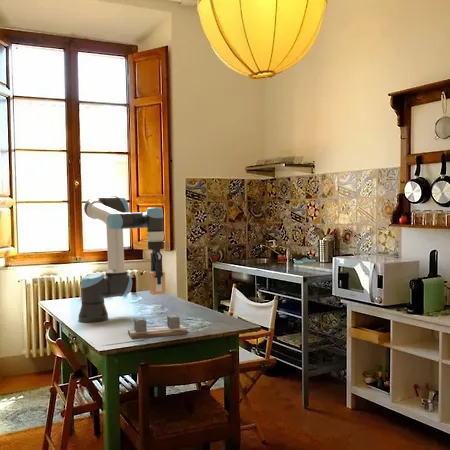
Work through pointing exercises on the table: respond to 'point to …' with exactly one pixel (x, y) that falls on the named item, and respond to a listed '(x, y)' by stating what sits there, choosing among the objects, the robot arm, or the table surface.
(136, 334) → the wooden fixture stand
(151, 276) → the block
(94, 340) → the table surface
